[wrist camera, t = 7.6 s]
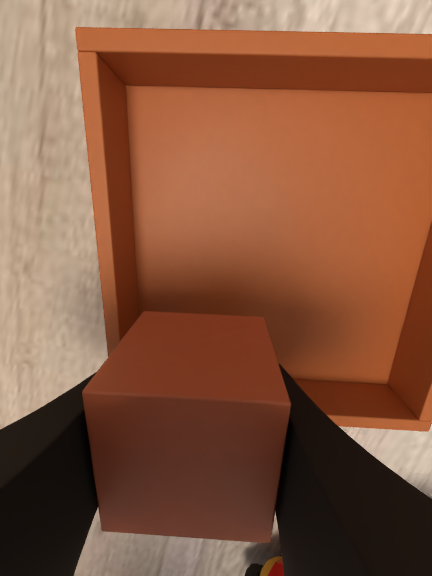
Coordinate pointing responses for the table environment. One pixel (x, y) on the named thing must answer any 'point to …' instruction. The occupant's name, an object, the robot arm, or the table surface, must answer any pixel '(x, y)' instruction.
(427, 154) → the orange tray
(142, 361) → the terracotta block
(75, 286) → the table surface
